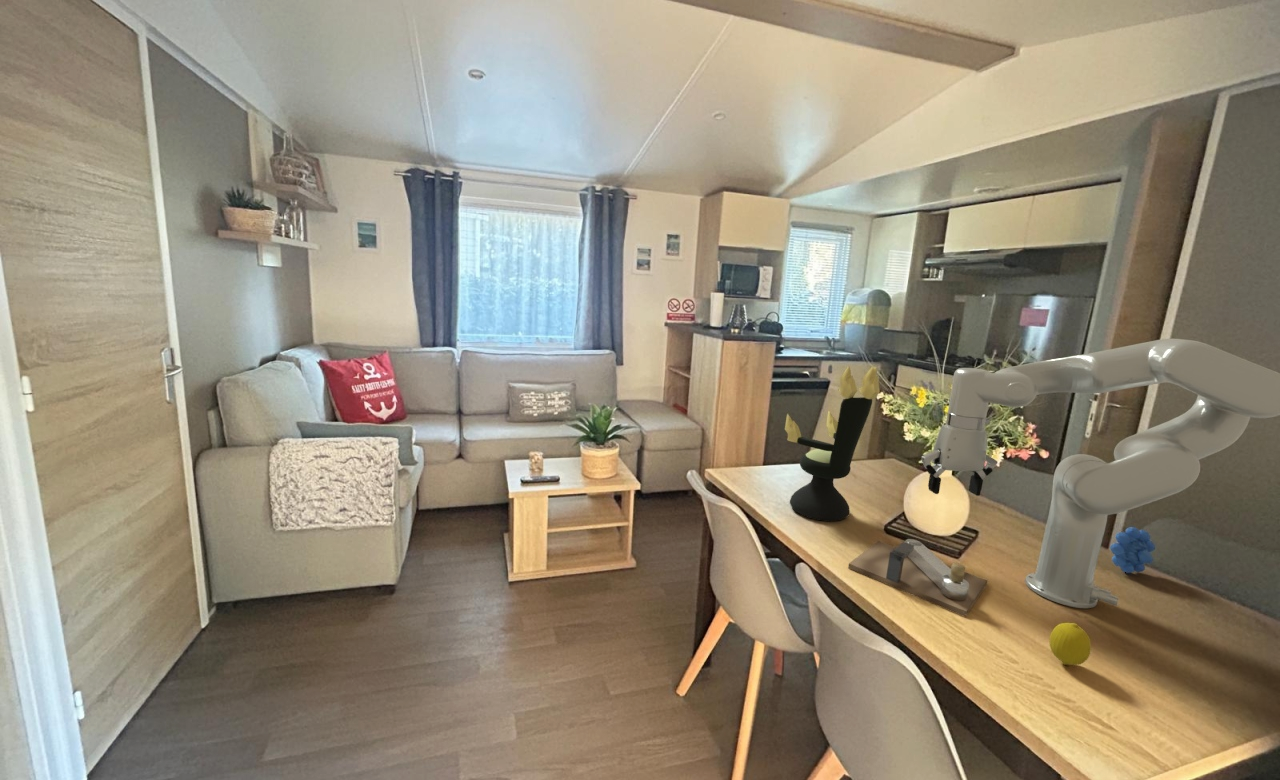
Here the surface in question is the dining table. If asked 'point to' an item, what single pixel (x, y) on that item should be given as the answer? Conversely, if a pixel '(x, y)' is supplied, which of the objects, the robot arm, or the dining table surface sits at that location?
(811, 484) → the black toy throne
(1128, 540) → the grapes
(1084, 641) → the lemon
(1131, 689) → the dining table surface
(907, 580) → the base board
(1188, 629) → the dining table surface
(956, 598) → the bolt
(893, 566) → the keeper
